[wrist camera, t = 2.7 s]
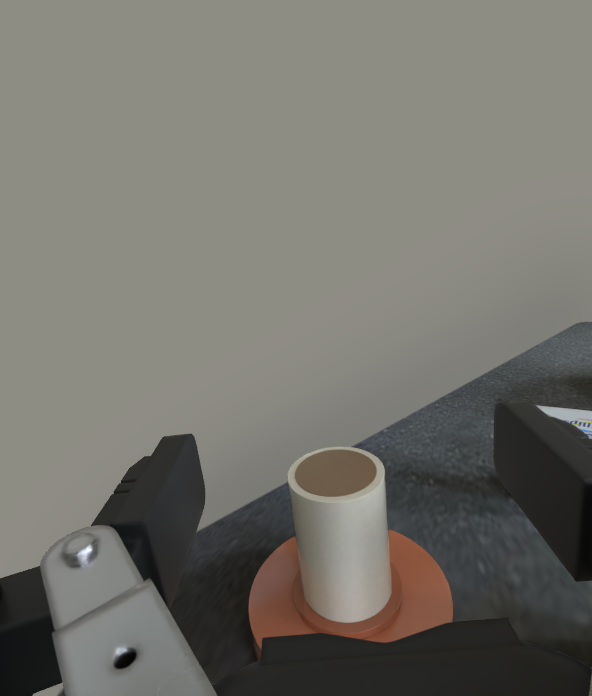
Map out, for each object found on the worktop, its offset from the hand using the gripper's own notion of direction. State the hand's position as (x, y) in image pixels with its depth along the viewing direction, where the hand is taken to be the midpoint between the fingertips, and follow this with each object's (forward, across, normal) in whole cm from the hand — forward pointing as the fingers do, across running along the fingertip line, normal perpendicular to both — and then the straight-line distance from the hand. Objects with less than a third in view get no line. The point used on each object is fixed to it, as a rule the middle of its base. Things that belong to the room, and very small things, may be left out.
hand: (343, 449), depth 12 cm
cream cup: (+14, 0, +19) cm, 23 cm away
